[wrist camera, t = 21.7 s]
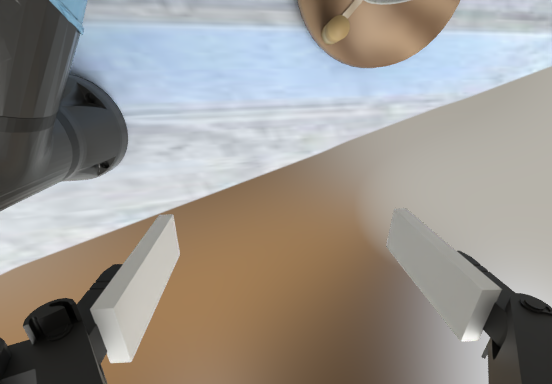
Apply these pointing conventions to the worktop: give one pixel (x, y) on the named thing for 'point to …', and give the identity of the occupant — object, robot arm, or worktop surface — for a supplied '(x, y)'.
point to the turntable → (374, 28)
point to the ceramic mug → (385, 1)
